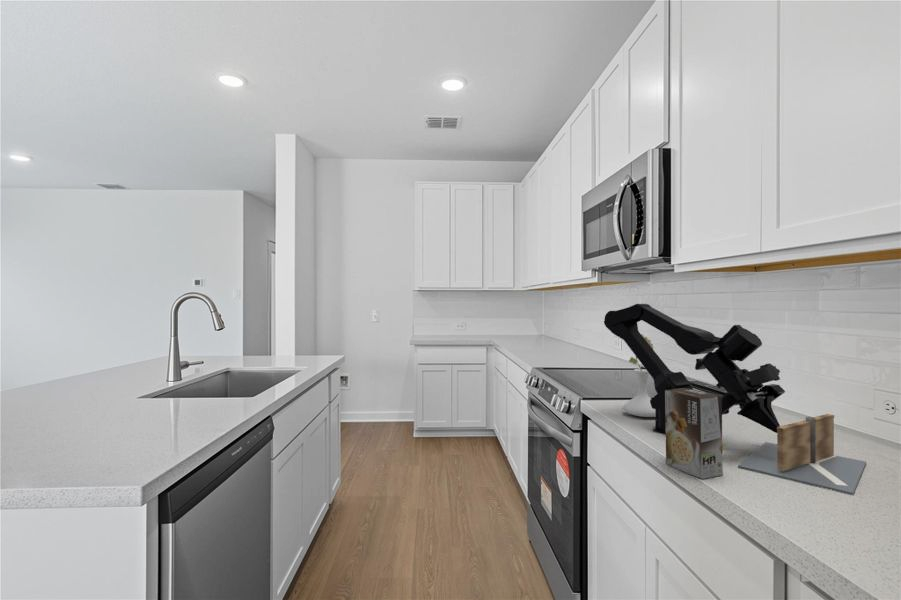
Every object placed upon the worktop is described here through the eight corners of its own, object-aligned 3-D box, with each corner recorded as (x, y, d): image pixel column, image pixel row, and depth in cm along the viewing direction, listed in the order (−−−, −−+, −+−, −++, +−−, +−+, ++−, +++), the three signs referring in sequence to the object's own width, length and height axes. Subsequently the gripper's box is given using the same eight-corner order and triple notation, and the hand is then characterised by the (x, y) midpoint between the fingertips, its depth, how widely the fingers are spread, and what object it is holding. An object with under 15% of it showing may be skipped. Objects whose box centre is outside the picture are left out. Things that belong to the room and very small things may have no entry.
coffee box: (724, 475, 89) (724, 395, 89) (701, 480, 87) (701, 398, 87) (685, 460, 97) (685, 387, 97) (663, 463, 95) (663, 389, 95)
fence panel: (804, 460, 95) (804, 420, 95) (811, 462, 94) (810, 421, 94) (776, 469, 90) (776, 427, 90) (783, 471, 89) (783, 428, 89)
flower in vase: (671, 419, 130) (670, 335, 130) (633, 420, 129) (633, 335, 129) (648, 409, 143) (648, 331, 143) (614, 409, 142) (613, 332, 142)
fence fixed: (804, 463, 95) (804, 417, 95) (826, 456, 100) (826, 411, 100) (813, 466, 94) (813, 418, 94) (835, 458, 98) (835, 413, 98)
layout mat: (737, 467, 93) (737, 465, 93) (765, 443, 108) (765, 441, 108) (853, 495, 80) (853, 492, 80) (866, 463, 95) (866, 461, 95)
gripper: (728, 354, 96) (786, 416, 86) (775, 349, 105) (832, 406, 95) (693, 384, 103) (743, 445, 93) (740, 378, 112) (791, 433, 102)
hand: (779, 431), depth 95 cm, fingers closed
